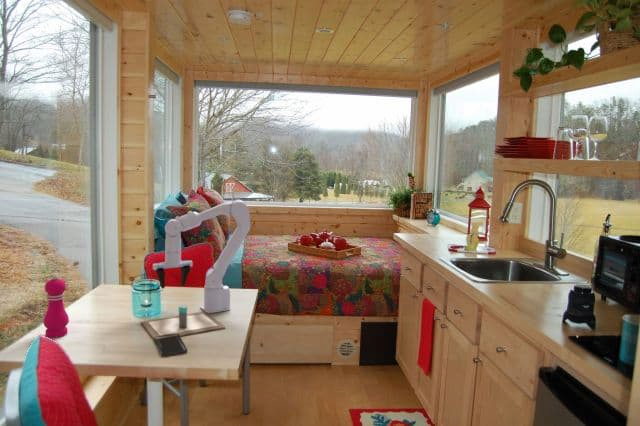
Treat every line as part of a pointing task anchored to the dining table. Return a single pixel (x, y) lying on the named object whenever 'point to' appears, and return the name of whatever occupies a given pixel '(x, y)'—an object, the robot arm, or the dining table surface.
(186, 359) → the dining table surface
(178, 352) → the phone
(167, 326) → the drawing pad
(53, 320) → the pepper mill
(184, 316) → the marker
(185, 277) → the robot arm
